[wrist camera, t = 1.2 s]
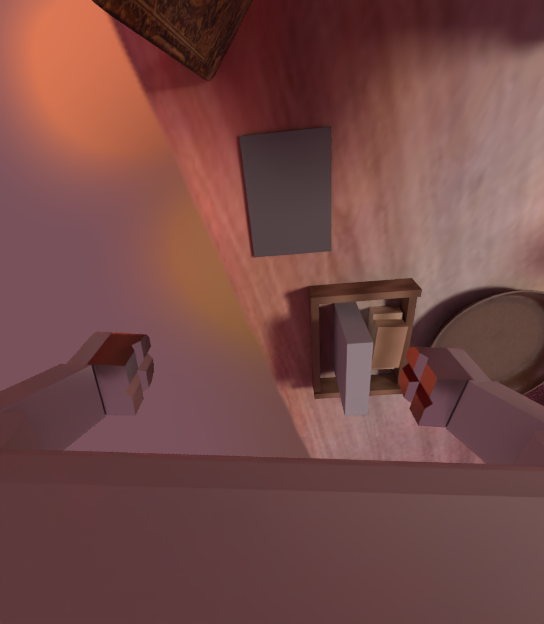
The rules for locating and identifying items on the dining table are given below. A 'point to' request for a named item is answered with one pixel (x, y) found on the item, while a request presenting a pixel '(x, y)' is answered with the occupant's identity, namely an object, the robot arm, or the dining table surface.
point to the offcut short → (388, 342)
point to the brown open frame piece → (361, 292)
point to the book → (183, 27)
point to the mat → (288, 190)
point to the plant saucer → (502, 337)
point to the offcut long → (383, 317)
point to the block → (352, 358)
